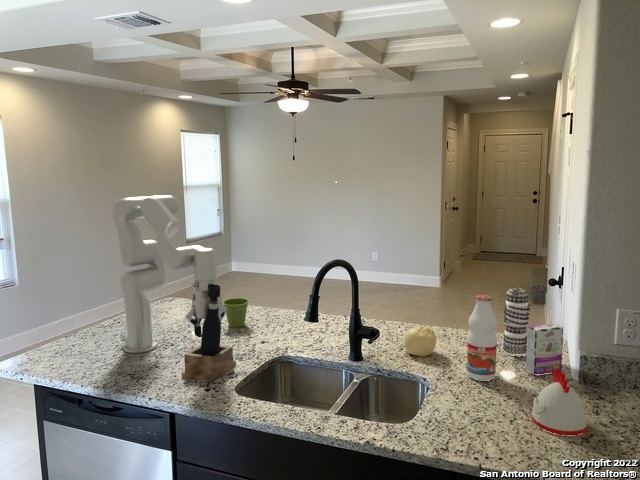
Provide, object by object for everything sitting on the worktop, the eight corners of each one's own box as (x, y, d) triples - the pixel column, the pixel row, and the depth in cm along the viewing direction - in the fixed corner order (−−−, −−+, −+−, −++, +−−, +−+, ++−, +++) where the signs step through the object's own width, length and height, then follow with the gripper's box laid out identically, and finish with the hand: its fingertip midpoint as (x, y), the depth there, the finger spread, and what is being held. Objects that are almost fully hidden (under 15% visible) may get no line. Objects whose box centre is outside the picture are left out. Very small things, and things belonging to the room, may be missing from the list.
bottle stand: (181, 377, 175) (180, 356, 174) (207, 360, 190) (206, 341, 189) (212, 382, 171) (211, 360, 170) (236, 364, 185) (235, 344, 184)
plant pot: (221, 323, 235) (220, 299, 234) (247, 320, 239) (246, 297, 237) (225, 330, 224) (224, 305, 222) (251, 328, 228) (251, 303, 226)
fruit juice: (496, 373, 176) (500, 294, 172) (493, 384, 167) (497, 301, 163) (468, 369, 179) (471, 291, 175) (464, 379, 171) (466, 298, 167)
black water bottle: (214, 371, 176) (220, 292, 168) (196, 367, 177) (201, 288, 168) (221, 362, 183) (227, 285, 174) (204, 358, 183) (209, 281, 174)
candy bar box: (551, 367, 180) (554, 322, 178) (561, 373, 176) (564, 327, 173) (524, 371, 177) (526, 325, 175) (533, 377, 173) (536, 330, 170)
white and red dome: (570, 411, 149) (573, 362, 146) (597, 436, 135) (601, 382, 133) (523, 412, 148) (525, 363, 146) (545, 437, 134) (548, 383, 132)
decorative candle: (533, 356, 191) (536, 291, 188) (512, 358, 189) (515, 293, 185) (517, 347, 200) (520, 285, 196) (496, 350, 198) (499, 287, 194)
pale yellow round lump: (434, 360, 188) (434, 332, 186) (401, 357, 192) (402, 329, 190) (437, 350, 199) (438, 323, 197) (406, 346, 202) (407, 320, 201)
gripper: (188, 290, 167) (191, 342, 170) (233, 281, 179) (235, 330, 181) (177, 286, 172) (180, 337, 175) (221, 278, 184) (223, 326, 187)
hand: (208, 333), depth 178 cm, fingers open, 7 cm apart
